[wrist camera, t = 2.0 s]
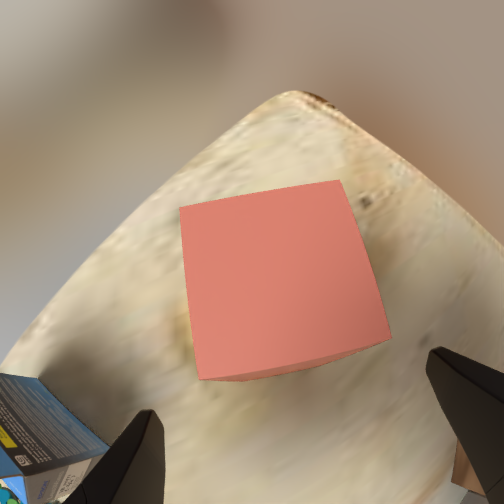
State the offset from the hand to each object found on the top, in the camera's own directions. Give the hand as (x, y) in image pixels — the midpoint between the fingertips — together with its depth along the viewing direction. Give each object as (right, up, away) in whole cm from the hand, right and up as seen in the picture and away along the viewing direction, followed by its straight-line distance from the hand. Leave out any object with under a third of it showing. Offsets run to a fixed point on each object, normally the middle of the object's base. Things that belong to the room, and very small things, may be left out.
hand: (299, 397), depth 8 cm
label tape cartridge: (-16, -9, +9) cm, 20 cm away
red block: (0, -1, +11) cm, 11 cm away
